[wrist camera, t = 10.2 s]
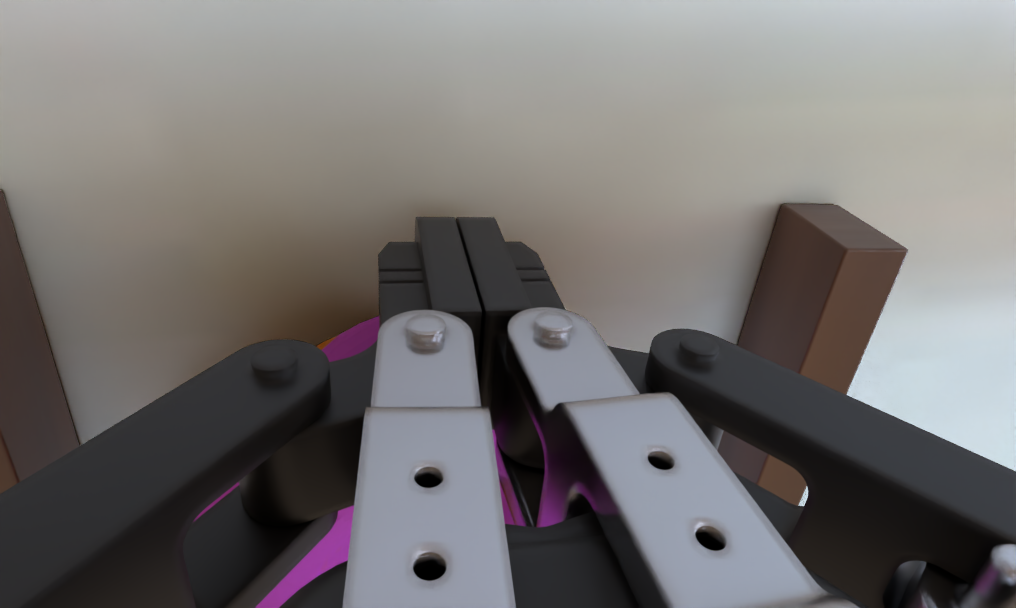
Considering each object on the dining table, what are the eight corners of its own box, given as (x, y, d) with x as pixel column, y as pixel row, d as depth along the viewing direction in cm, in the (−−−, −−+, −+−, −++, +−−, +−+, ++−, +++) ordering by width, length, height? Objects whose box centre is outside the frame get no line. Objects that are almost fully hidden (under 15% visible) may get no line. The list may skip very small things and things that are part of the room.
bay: (99, 694, 20) (67, 788, 18) (-92, 184, 12) (-190, 244, 10) (686, 623, 24) (717, 693, 22) (837, 203, 16) (910, 249, 14)
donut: (653, 478, 19) (724, 619, 16) (358, 627, 20) (356, 795, 17) (488, 195, 14) (535, 304, 10) (97, 417, 15) (4, 594, 11)
